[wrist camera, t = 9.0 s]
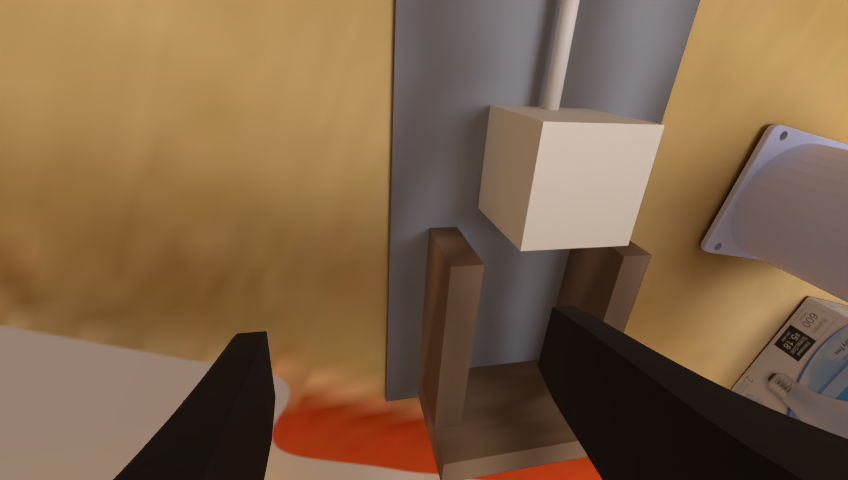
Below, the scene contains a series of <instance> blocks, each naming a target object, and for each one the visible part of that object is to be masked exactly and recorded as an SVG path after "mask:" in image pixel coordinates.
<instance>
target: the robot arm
mask: <svg viewBox="0 0 848 480" xmlns="http://www.w3.org/2000/svg"><path fill="white" fill-rule="evenodd" d="M701 249H702V250H704V251H706V252H708V253H715V254H722V255H729V256H736V257H743V258H750V259H757V260H763V261H765V262H767V263H769V264H771V265H773V266H775V267H777V268H779V269H781V270H783V271H785V272H787V273H789V274H791V275H793V276H795V277H797V278H799V279H801V280H803V281H805V282H807V283H809V284H811V285H813V286H816V287H818V288H820V289H822V290H824V291H826V292H828V293H830V294H832V295H834V296H836V297H838V298H840V299H842V300H844V301H846V302H848V144H845V143H841V142H838V141H835V140H831V139H828V138H824V137H821V136H818V135H814V134H811V133H808V132H804V131H801V130H797V129H794V128H791V127H787V126H784V125H779V124H773V125H770V126H769V127H768V128H767V129H766V130H765V132H764V134H763V135H762V137H761V139H760V141H759V142H758V144H757V146H756V148H755V149H754V151H753V153H752V155H751V156H750V158H749V160H748V162H747V164H746V165H745V167H744V169H743V171H742V172H741V174H740V176H739V178H738V179H737V181H736V183H735V185H734V186H733V188H732V190H731V192H730V193H729V195H728V197H727V199H726V200H725V202H724V204H723V206H722V207H721V209H720V211H719V213H718V214H717V216H716V218H715V220H714V221H713V223H712V225H711V227H710V228H709V230H708V232H707V234H706V235H705V237H704V239H703V241H702V243H701ZM538 368H539V370H540V372H541V375H542V377H543V379H544V381H545V384H546V386H547V388H548V390H549V392H550V394H551V396H552V398H553V401H554V402H555V404H556V406H557V407H558V409H559V411H560V412H561V414H562V415H563V417H564V419H565V420H566V422H567V424H568V425H569V427H570V428H571V430H572V432H573V433H574V435H575V436H576V438H577V440H578V441H579V443H580V444H581V446H582V448H583V449H584V451H585V452H586V454H587V456H588V457H589V459H590V460H591V462H592V464H593V465H594V467H595V468H596V470H597V472H598V473H599V475H600V476H601V478H602V479H603V480H848V439H847V438H844V437H841V436H839V435H836V434H833V433H831V432H828V431H826V430H823V429H820V428H818V427H815V426H813V425H810V424H808V423H805V422H803V421H800V420H798V419H795V418H793V417H790V416H788V415H785V414H783V413H780V412H778V411H776V410H773V409H771V408H769V407H766V406H764V405H762V404H760V403H757V402H755V401H753V400H751V399H749V398H746V397H744V396H742V395H740V394H738V393H735V392H733V391H731V390H729V389H727V388H725V387H723V386H720V385H718V384H716V383H714V382H712V381H710V380H708V379H706V378H704V377H702V376H700V375H699V374H697V373H695V372H693V371H691V370H689V369H687V368H685V367H683V366H681V365H679V364H677V363H676V362H674V361H672V360H670V359H668V358H666V357H665V356H663V355H661V354H659V353H657V352H656V351H654V350H652V349H650V348H648V347H647V346H645V345H643V344H641V343H640V342H638V341H636V340H634V339H633V338H631V337H629V336H627V335H626V334H624V333H622V332H621V331H619V330H617V329H615V328H614V327H612V326H610V325H608V324H607V323H605V322H603V321H601V320H600V319H598V318H596V317H594V316H592V315H590V314H589V313H587V312H585V311H583V310H581V309H579V308H577V307H575V306H561V307H552V311H551V315H550V319H549V323H548V326H547V330H546V334H545V338H544V342H543V346H542V350H541V354H540V358H539V362H538ZM274 407H275V391H274V384H273V376H272V369H271V362H270V354H269V347H268V339H267V332H266V331H264V332H252V333H240V334H237V335H236V336H235V337H233V338H232V340H231V341H230V343H229V344H228V345H227V347H226V348H225V349H224V351H223V352H222V353H221V355H220V356H219V357H218V359H217V360H216V361H215V363H214V364H213V365H212V367H211V368H210V369H209V371H208V372H207V373H206V374H205V376H204V377H203V378H202V380H201V381H200V382H199V383H198V385H197V386H196V387H195V388H194V389H193V391H192V392H191V393H190V394H189V395H188V397H187V398H186V399H185V400H184V402H183V403H182V404H181V405H180V407H179V408H178V409H177V410H176V411H175V413H174V414H173V415H172V416H171V417H170V418H169V420H168V421H167V422H166V423H165V424H164V425H163V426H162V427H161V429H160V430H159V431H158V432H157V433H156V434H155V435H154V436H153V437H152V438H151V440H150V441H149V442H148V443H147V444H146V445H145V446H144V447H143V448H142V450H141V451H140V452H139V453H138V454H137V455H136V456H135V457H134V458H133V459H132V460H131V462H130V463H129V464H128V465H127V466H126V467H125V468H124V469H123V470H122V471H121V472H120V473H119V474H118V475H117V476H116V477H115V478H114V479H113V480H264V477H265V472H266V467H267V462H268V456H269V451H270V446H271V441H272V430H273V419H274Z"/></svg>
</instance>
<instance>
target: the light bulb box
mask: <svg viewBox="0 0 848 480" xmlns="http://www.w3.org/2000/svg"><path fill="white" fill-rule="evenodd" d="M731 391H733V392H735V393H738V394H740V395H742V396H744V397H746V398H749V399H751V400H753V401H755V402H757V403H760V404H762V405H764V406H766V407H769V408H771V409H773V410H776V411H778V412H780V413H783V414H785V415H788V416H790V417H793V418H795V419H798V420H800V421H803V422H805V423H808V424H810V425H813V426H815V427H818V428H820V429H823V430H826V431H828V432H831V433H833V434H836V435H839V436H841V437H844V438H847V439H848V306H846V305H842V304H838V303H834V302H830V301H826V300H822V299H817V298H813V297H807V298H806V300H805V301H804V302H803V303H802V304H801V306H800V307H799V308H798V309H797V311H796V312H795V313H794V314H793V315H792V316H791V318H790V319H789V320H788V321H787V323H786V324H785V325H784V326H783V327H782V329H781V330H780V331H779V332H778V333H777V335H776V336H775V337H774V338H773V339H772V340H771V342H770V343H769V344H768V345H767V347H766V348H765V349H764V350H763V351H762V353H761V354H760V355H759V356H758V357H757V359H756V360H755V361H754V362H753V364H752V365H751V366H750V367H749V368H748V370H747V371H746V372H745V373H744V374H743V375H742V377H741V378H740V379H739V380H738V381H737V383H736V384H735V385H734V386H733V387H732V389H731Z"/></svg>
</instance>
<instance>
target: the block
mask: <svg viewBox="0 0 848 480" xmlns="http://www.w3.org/2000/svg"><path fill="white" fill-rule="evenodd" d="M579 1H580V0H561V6H560V12H559V17H558V23H557V29H556V34H555V40H554V46H553V52H552V57H551V63H550V69H549V74H548V80H547V86H546V92H545V97H544V103H543V107H532V106H505V105H490V111H489V119H488V128H487V136H486V144H485V152H484V161H483V169H482V177H481V186H480V194H479V202H478V208H479V209H480V210H481V211H482V213H483V214H484V215H485V216H486V217H487V218H488V219H489V220H490V221H491V222H492V223H493V224H494V225H495V226H496V227H497V228H498V229H499V230H500V231H501V232H502V233H503V234H504V235H505V236H506V237H507V238H508V239H509V240H510V241H511V242H512V243H513V244H514V245H515V246H516V247H517V248H518V249H519V250H520V251H535V250H554V249H573V248H592V247H611V246H628V245H629V241H630V238H631V235H632V231H633V228H634V225H635V222H636V218H637V215H638V212H639V209H640V205H641V202H642V199H643V195H644V192H645V189H646V186H647V182H648V179H649V176H650V172H651V169H652V166H653V163H654V159H655V156H656V153H657V150H658V146H659V143H660V140H661V136H662V133H663V130H664V127H665V125H663V124H658V123H653V122H649V121H644V120H639V119H634V118H630V117H625V116H620V115H615V114H610V113H606V112H601V111H596V110H591V109H586V108H559V106H560V100H561V95H562V90H563V85H564V79H565V74H566V69H567V64H568V59H569V53H570V48H571V43H572V38H573V32H574V27H575V22H576V17H577V12H578V6H579Z"/></svg>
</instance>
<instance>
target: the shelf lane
mask: <svg viewBox="0 0 848 480" xmlns="http://www.w3.org/2000/svg"><path fill="white" fill-rule="evenodd" d="M699 2H700V0H580V1H579V6H578V12H577V17H576V22H575V27H574V32H573V38H572V43H571V48H570V53H569V59H568V64H567V69H566V74H565V79H564V85H563V90H562V95H561V100H560V106H559V108H586V109H591V110H596V111H601V112H606V113H610V114H615V115H620V116H625V117H630V118H634V119H639V120H644V121H649V122H653V123H658V124H661V122H662V119H663V116H664V113H665V109H666V106H667V103H668V100H669V97H670V94H671V90H672V87H673V84H674V81H675V78H676V75H677V71H678V68H679V65H680V62H681V59H682V56H683V52H684V49H685V46H686V43H687V40H688V37H689V33H690V30H691V27H692V24H693V21H694V18H695V14H696V11H697V8H698V5H699ZM560 6H561V0H395V36H394V78H393V120H392V162H391V204H390V246H389V287H388V329H387V371H386V401H393V400H400V399H407V398H415V397H419V399H420V403H421V407H422V411H423V415H424V419H425V422H426V426H427V430H428V434H429V438H430V442H431V445H432V449H433V453H434V457H435V461H436V465H437V469H438V472H439V476H440V480H464V479H469V478H475V477H480V476H485V475H491V474H496V473H501V472H507V471H512V470H517V469H523V468H528V467H534V466H539V465H544V464H550V463H555V462H560V461H566V460H571V459H576V458H582V457H587V454H586V452H585V451H584V449H583V448H582V446H581V444H580V443H579V441H578V440H577V438H576V436H575V435H574V433H573V432H572V430H571V428H570V427H569V425H568V424H567V422H566V420H565V419H564V417H563V415H562V414H561V412H560V411H559V409H558V407H557V406H556V404H555V402H554V401H553V398H552V396H551V394H550V392H549V390H548V388H547V386H546V384H545V381H544V379H543V377H542V375H541V372H540V370H539V368H538V362H539V358H540V354H541V350H542V346H543V342H544V338H545V334H546V330H547V326H548V323H549V319H550V315H551V311H552V307H561V306H575V307H577V308H579V309H581V310H583V311H585V312H587V313H589V314H590V315H592V316H594V317H596V318H598V319H600V320H601V321H603V322H605V323H607V324H608V325H610V326H612V327H614V328H615V329H617V330H619V331H621V332H622V333H624V330H625V327H626V324H627V321H628V319H629V316H630V313H631V310H632V307H633V305H634V302H635V299H636V296H637V293H638V291H639V288H640V285H641V282H642V279H643V276H644V274H645V271H646V268H647V265H648V262H649V260H650V257H651V254H649V253H648V252H646V251H645V250H643V249H641V248H640V247H638V246H637V245H635V244H634V243H632V242H631V241H629V245H628V246H611V247H592V248H573V249H554V250H535V251H520V250H519V249H518V248H517V247H516V246H515V245H514V244H513V243H512V242H511V241H510V240H509V239H508V238H507V237H506V236H505V235H504V234H503V233H502V232H501V231H500V230H499V229H498V228H497V227H496V226H495V225H494V224H493V223H492V222H491V221H490V220H489V219H488V218H487V217H486V216H485V215H484V214H483V213H482V211H481V210H480V209H479V208H478V202H479V194H480V186H481V177H482V169H483V161H484V152H485V144H486V136H487V128H488V119H489V111H490V105H505V106H532V107H543V103H544V97H545V92H546V86H547V80H548V74H549V69H550V63H551V57H552V52H553V46H554V40H555V34H556V29H557V23H558V17H559V12H560Z"/></svg>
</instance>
